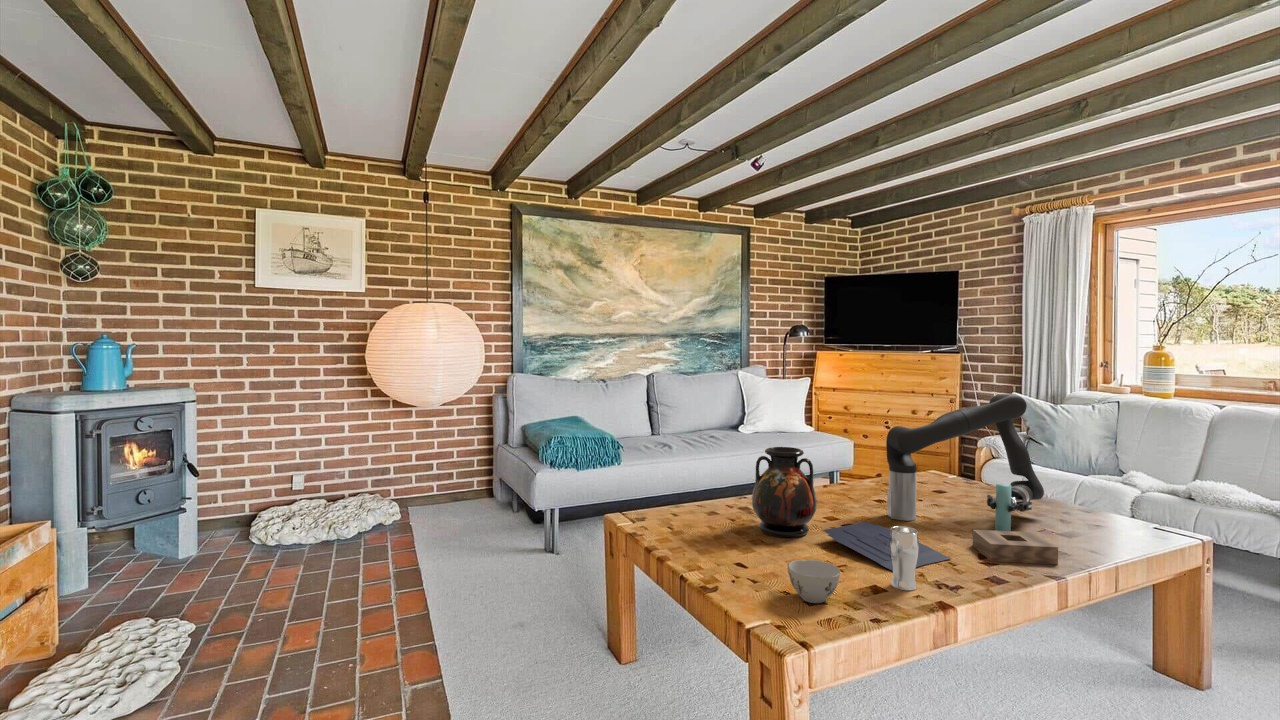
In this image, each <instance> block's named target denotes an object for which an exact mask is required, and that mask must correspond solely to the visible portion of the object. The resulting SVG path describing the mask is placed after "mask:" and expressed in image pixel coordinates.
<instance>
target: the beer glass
mask: <svg viewBox="0 0 1280 720" xmlns="http://www.w3.org/2000/svg"><path fill="white" fill-rule="evenodd" d="M890 530H891V533H890V554H891V560H892V566H893V571H892V577H891V582H890V585H891V586H892V588H895V589H897V590H900V591H907V592H910V591H915V590H916V589H917V584H916V583H917V582H916V576H915V574H916V573H915V572H916V568H917V567H916V563H917V558H918V551H919V543H920V541H919V531H918V530H917V529H916V528H913V527H910V526H905V525H896V526H894V525H893V526H892V527H890Z"/></svg>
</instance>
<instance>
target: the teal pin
mask: <svg viewBox="0 0 1280 720" xmlns="http://www.w3.org/2000/svg"><path fill="white" fill-rule="evenodd" d="M995 498H996V508H995V515H994V516H995V517H994V518H995V524H994V526H995V527H994V528H995V529H994V531H1011V530H1012V529H1011V527H1012V525H1011V523H1012V512H1008V506H1009V505H1010V504H1011V485H1010V484H1007V483H1006V484H1005V483H996V484H995Z"/></svg>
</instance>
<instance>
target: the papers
mask: <svg viewBox="0 0 1280 720" xmlns="http://www.w3.org/2000/svg"><path fill="white" fill-rule="evenodd" d="M821 531H822V532H824V533H826V534H827V536H828V537H829V538H832V540H834V541H835V542H838V543H839V544H841V545H844V546H846V547H848V549H849V548H850V549H852V550H853V551H855V552H856V553H859V554H861V555H862V556H865V557H866V558H868V559H870V560H871V561H874V562H876V564H879V565H880V566H883V568H884V567H885V568H886V569H888V570H890V571H892V572H893V566H892V560H891V554H890V533H891V528H887V527H884V526H881V525H879V524H873V523H870V522H868V521H862V522H857V523H852V524H848V525H842V526H837V527H832V528H828V529H823V530H821ZM951 559H952V558H951V557H948V556H946V555H945V554H943V553H941V552H939V551H938V550H935V549H933V548H931V547H930V546H927V545H925V544H923V543H921V542H919V551H918V558H917V563H916V568H918V567H922V566H924V565H925V566H926V565H929V564H933V563H938V562H942V561H947V560H951Z"/></svg>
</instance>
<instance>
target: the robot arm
mask: <svg viewBox="0 0 1280 720" xmlns="http://www.w3.org/2000/svg"><path fill="white" fill-rule="evenodd" d="M1027 406H1028V403H1027V402H1026V400H1025V399H1024V398H1023V397H1022V396H1020V395H1018V394H1013V393H1007V394H1005V393H1004V394H1002V393H1001V394H995V395H994V396H992V398H991V399H990V400H989V402H988V403H987V404H983V405H976V406H970V407H963V408H960V409H955V410H952V411H949V412H946V413H944V414H942V415H940V416H938V417H937V418H936V419H935V420H933V422H931V423H929V424H926V425H922V426H918V427H912V428H909V427H906V426H905V427H904V426H900V425H899V426H893V427H892V428H890V429H889V430H888V432H887V434H886V443H885V446H886V461H887V463H888V489H887V499H886V500H887V502H886V503H887V504H886V505H887V507H886V509H887V510H886V512H887V513H886V514H887V516H888V518H890V519H891V520H898V521H905V522H906V521H915V520H916V519H917V464H916V462H915V461H914V460H913V457H912V454H915V453H916V452H919V451H921V450H923V449H925V448H928V447H929V446H931V445H935V444H937V443H941V442H944V441H948V440H951V439H955V438H957V437H961V436H964V435H967V434H970V433H972V432H975V431H978V430H981V429H984V428H986V427H988V426H991V425H994V424H995V427H996V429H997V431H998V433H999V436H1000V439H1001V440H1002V444H1003V446H1004V450H1005V452H1006V457H1007V461H1008V466H1009V470H1010V472H1011V474H1013V475H1014V476H1020V477H1024V478H1026V480H1015V481H1012V482H1010V484H1009V485H1011V504H1010V505H1009V506H1008V512H1011V513H1012V512H1018V511H1019V512H1021V513H1023V512H1028V511H1031V510H1033V509H1032V508H1033V502H1032V501H1037V500H1038V501H1039V500H1041V499H1042V498H1044V495H1045V490H1044V488H1043V485H1042V483H1041V482H1040V480H1039V478H1038V477H1037V475H1036V473H1035V471H1034V469H1033V466H1032V465H1033V464H1032V460H1031V456H1030V453H1029V451H1028V449H1027V446H1026V444H1025V443H1024V442H1023V440H1022V439H1021V437H1020V436H1019V434H1018V432H1017V430H1016V428H1015V425H1014V422H1013V421H1014V420H1017V419H1019V418H1021V417H1022V416H1023V415H1024V414H1025V413H1026V411H1027V408H1028V407H1027ZM986 504H987V506H988V507H989V508H990V509H991V510H996V497H993V495H990V494H987V495H986Z"/></svg>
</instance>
